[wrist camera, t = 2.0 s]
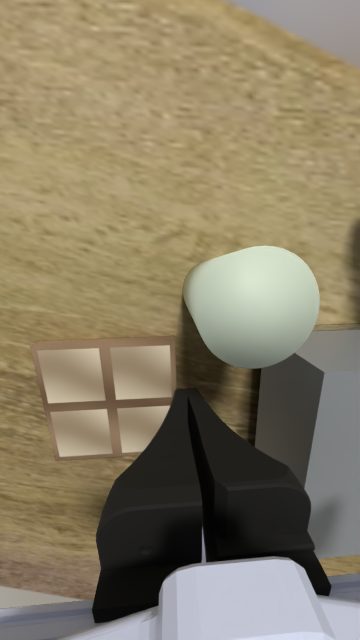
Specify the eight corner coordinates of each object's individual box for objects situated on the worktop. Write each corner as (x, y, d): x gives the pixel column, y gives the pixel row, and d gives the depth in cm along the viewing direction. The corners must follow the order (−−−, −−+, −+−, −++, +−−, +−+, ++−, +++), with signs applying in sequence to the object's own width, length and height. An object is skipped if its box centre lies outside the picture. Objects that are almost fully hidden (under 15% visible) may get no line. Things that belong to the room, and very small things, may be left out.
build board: (177, 443, 16) (178, 453, 15) (61, 450, 15) (55, 461, 14) (174, 336, 13) (175, 340, 13) (38, 341, 13) (30, 345, 12)
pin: (239, 318, 13) (310, 366, 7) (183, 320, 13) (196, 371, 6) (242, 259, 12) (328, 244, 6) (181, 260, 12) (196, 246, 5)
